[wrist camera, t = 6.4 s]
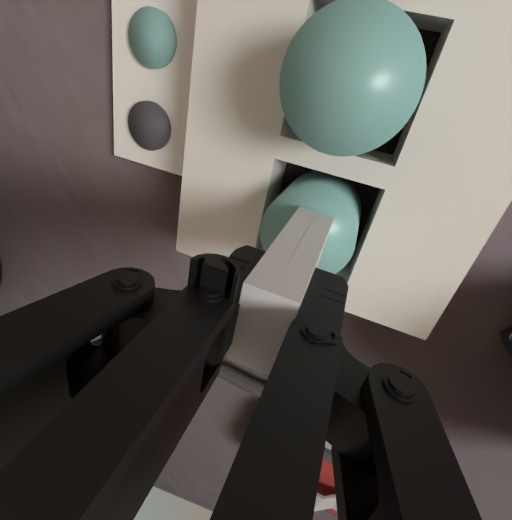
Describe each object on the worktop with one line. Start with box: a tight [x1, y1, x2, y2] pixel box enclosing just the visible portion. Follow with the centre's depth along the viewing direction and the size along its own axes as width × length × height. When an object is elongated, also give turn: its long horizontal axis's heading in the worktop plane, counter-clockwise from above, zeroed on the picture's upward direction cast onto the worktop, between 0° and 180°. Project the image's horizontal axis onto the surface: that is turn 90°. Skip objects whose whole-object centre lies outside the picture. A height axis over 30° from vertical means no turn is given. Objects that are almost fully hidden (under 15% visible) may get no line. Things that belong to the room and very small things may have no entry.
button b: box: [279, 0, 426, 157], centre depth 12 cm, size 4×4×4 cm
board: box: [176, 0, 512, 340], centre depth 14 cm, size 14×20×3 cm
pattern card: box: [112, 0, 198, 176], centre depth 17 cm, size 5×13×1 cm, turn 169°
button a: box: [260, 170, 361, 274], centre depth 16 cm, size 4×4×4 cm
